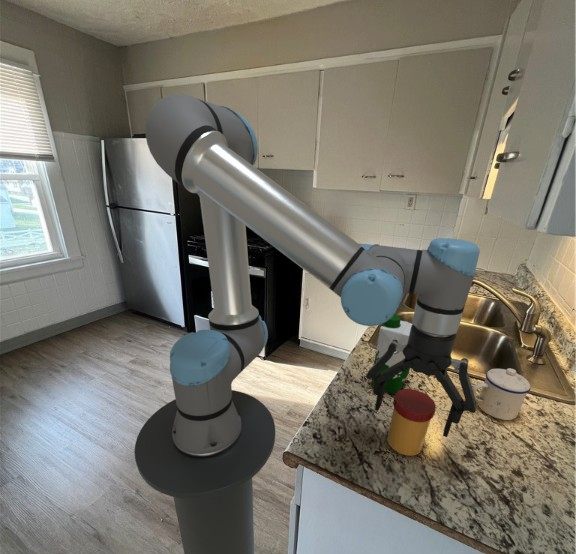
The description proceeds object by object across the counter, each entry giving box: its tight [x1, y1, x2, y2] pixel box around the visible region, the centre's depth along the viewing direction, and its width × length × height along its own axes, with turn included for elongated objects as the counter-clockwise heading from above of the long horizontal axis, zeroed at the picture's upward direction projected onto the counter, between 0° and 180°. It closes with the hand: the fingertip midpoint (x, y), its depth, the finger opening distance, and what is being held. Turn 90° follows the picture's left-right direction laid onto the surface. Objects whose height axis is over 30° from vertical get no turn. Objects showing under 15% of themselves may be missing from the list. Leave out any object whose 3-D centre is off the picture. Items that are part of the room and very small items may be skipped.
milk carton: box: [371, 313, 413, 395], centre depth 82 cm, size 9×9×20 cm
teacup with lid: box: [472, 367, 531, 421], centre depth 76 cm, size 12×9×12 cm
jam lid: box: [392, 388, 437, 422], centre depth 64 cm, size 8×8×2 cm
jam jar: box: [386, 407, 432, 457], centre depth 66 cm, size 7×7×11 cm
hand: (410, 419), depth 65 cm, fingers open, 13 cm apart
